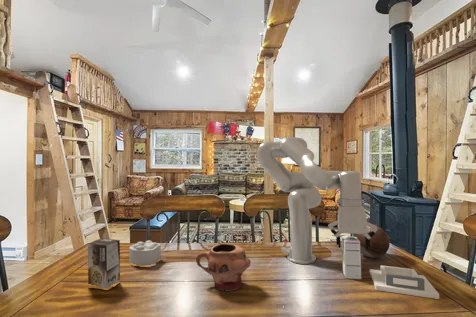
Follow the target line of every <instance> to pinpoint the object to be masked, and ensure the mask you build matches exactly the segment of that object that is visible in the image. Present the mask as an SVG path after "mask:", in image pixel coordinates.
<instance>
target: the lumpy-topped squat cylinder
mask: <svg viewBox="0 0 476 317" xmlns="http://www.w3.org/2000/svg"><path fill="white" fill-rule="evenodd" d="M161 248H162V246H161V244H160V243H158V242H155V241H154V242H153V241H152V240H146V241H145V242H143V241H137V242H136V243H134V244H131V245H130V246H129V263H130V262H131V263H133V264H136V265H151V264H154V263H156V262H157V261H158V260H159V259H161V257H162V255H161V254H162V253H161V252H162V251H161ZM161 260H162V259H161Z"/></svg>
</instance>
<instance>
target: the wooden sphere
mask: <svg viewBox="0 0 476 317" xmlns="http://www.w3.org/2000/svg"><path fill="white" fill-rule="evenodd" d="M372 224H373V225H375V226H376V227H377V228H378V229H377V231H376V232H375V234H374V235H373V236H372V237H371V239H370V247H368V250H367V249H366V248H365V237H366V236H365V235H364V234H352V236H354V237H357V238H358V240H359V241H360V255H363V256H365V257H367V258H373V259H375V258H380V257H382V256H384V255H385V254H387V252H388V251H389V249H390V245H391V243H390V242H391V240H390V237H389V235H388V233H387V231H385V229H384V228H382V227H381V226H380V225H378V224H376V223H372ZM371 231H372V228H371V227H369V226H367V233H369V232H371Z"/></svg>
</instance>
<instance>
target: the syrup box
mask: <svg viewBox="0 0 476 317" xmlns="http://www.w3.org/2000/svg"><path fill="white" fill-rule="evenodd" d="M341 251H342V252H341V253H342V254H341V257H342V274H343V275H344V277H345V279H351V280H362V263H361V261H362V260H361V258H362V257H361V255H362V254H361V253H360V241H359V240H358V238H357V237H354V236H353V235H352V236H351V235H344V236H341Z"/></svg>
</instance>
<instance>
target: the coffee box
mask: <svg viewBox="0 0 476 317" xmlns="http://www.w3.org/2000/svg"><path fill="white" fill-rule="evenodd" d="M120 241H121V240H120V239H113V238H103V237H102V238H98V239H95V240H93V241H90V242H87V282H88V284H91V285H96V286H100V287H104V288H108V287H110V286H111V285H113V284H115V283H117V282H118V281H120V282H121V251H120V250H121V247H120V246H121V245H120V244H121V242H120ZM88 284H87V285H88Z"/></svg>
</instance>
